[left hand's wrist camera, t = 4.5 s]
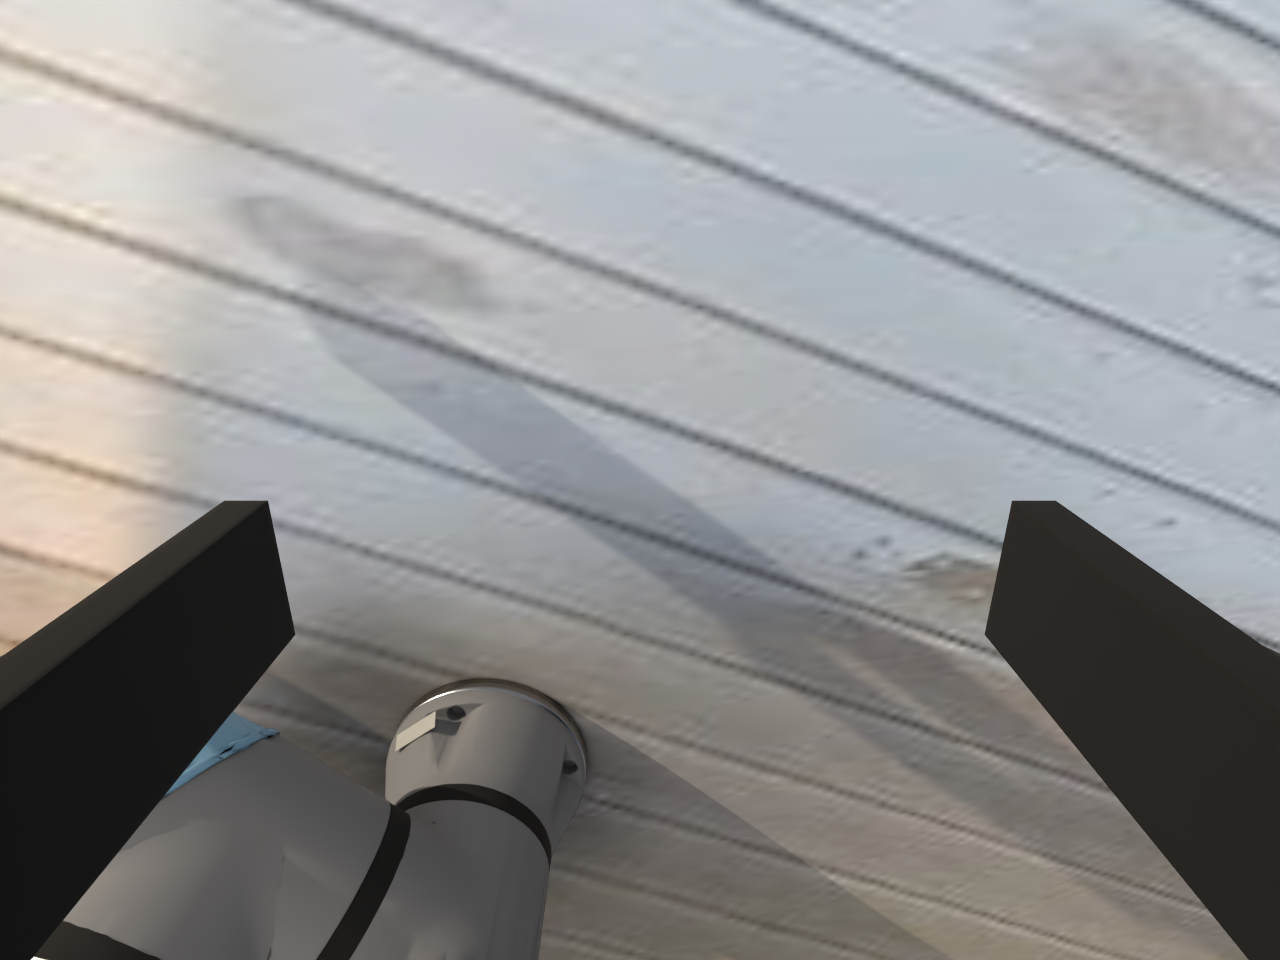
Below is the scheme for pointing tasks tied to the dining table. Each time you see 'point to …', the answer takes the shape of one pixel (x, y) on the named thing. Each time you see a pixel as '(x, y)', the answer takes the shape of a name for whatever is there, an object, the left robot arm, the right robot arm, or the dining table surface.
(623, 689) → the dining table surface
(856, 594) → the dining table surface
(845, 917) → the dining table surface
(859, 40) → the dining table surface
